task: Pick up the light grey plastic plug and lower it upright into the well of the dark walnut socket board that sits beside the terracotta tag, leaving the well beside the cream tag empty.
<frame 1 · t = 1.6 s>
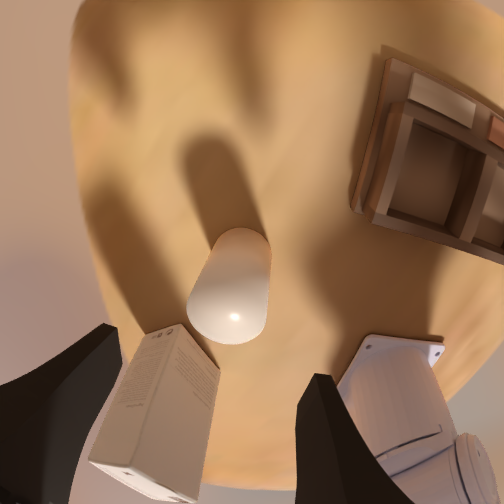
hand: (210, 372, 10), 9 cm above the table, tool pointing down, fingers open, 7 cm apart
skincare box: (185, 352, 23), on the table
socket board: (459, 168, 14), on the table
plug: (242, 254, 18), on the table
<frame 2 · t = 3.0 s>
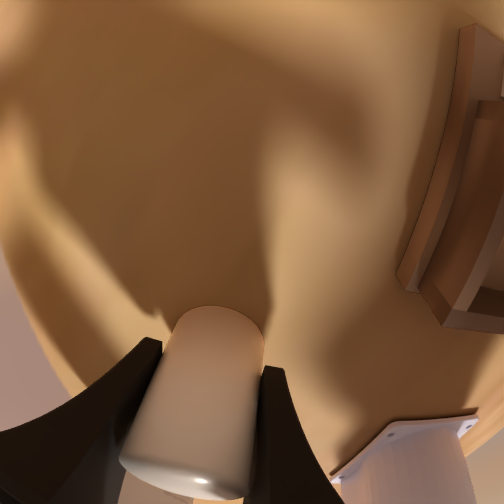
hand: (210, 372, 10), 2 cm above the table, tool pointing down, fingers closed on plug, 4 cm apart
skincare box: (157, 430, 16), on the table
plug: (218, 342, 11), on the table, touching gripper
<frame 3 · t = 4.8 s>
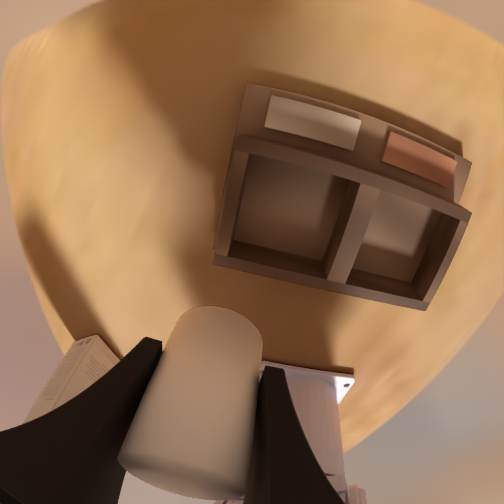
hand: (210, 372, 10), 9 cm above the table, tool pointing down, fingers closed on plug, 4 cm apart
skincare box: (108, 359, 24), on the table
socket board: (348, 195, 15), on the table
plug: (217, 342, 11), point 7 cm above the table, touching gripper
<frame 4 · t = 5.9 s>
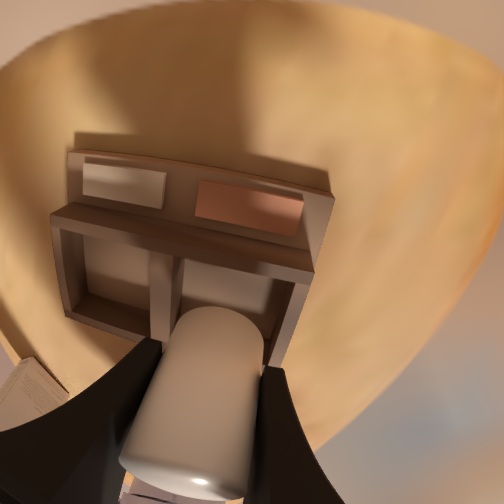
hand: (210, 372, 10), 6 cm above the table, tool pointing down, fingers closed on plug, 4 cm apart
skincare box: (46, 376, 23), on the table
socket board: (181, 250, 15), on the table
plug: (218, 342, 11), point 5 cm above the table, touching gripper
when the fingers open (4 cm above the table, at t = 6.7 s): plug drops 1 cm, resting on socket board.
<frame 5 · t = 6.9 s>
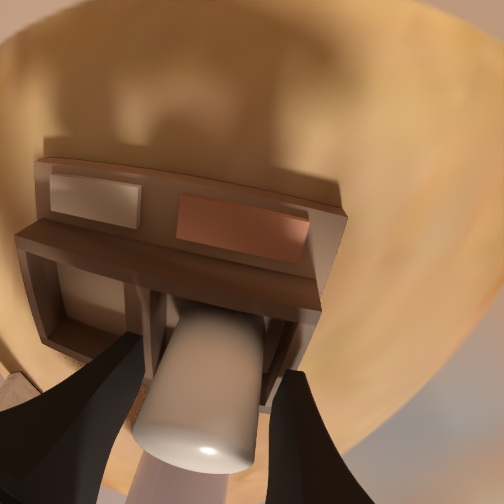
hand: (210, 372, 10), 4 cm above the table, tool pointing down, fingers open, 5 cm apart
skincare box: (36, 392, 21), on the table
socket board: (164, 273, 13), on the table
plug: (223, 325, 12), point 1 cm above the table, touching socket board
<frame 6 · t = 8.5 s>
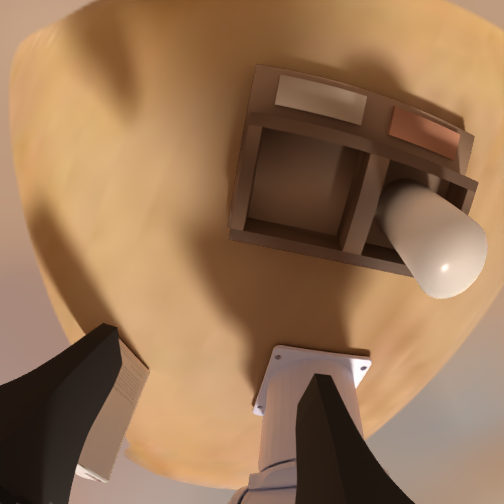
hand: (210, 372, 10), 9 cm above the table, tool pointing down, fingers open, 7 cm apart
skincare box: (119, 352, 24), on the table
socket board: (358, 171, 15), on the table
plug: (404, 209, 15), point 1 cm above the table, touching socket board
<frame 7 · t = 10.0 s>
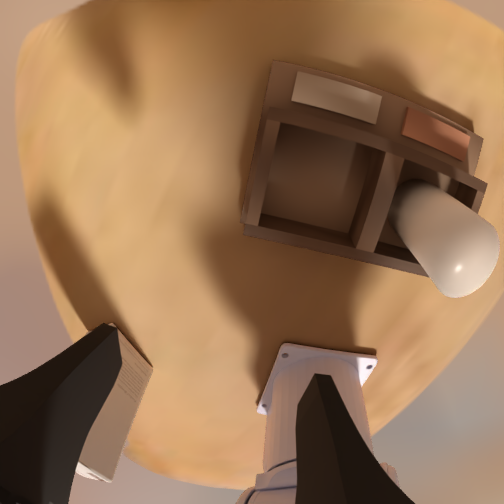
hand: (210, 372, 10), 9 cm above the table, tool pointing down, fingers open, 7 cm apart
skincare box: (122, 349, 24), on the table
socket board: (370, 169, 15), on the table
plug: (415, 209, 15), point 1 cm above the table, touching socket board
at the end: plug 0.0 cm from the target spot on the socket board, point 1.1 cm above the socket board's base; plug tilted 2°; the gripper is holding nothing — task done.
